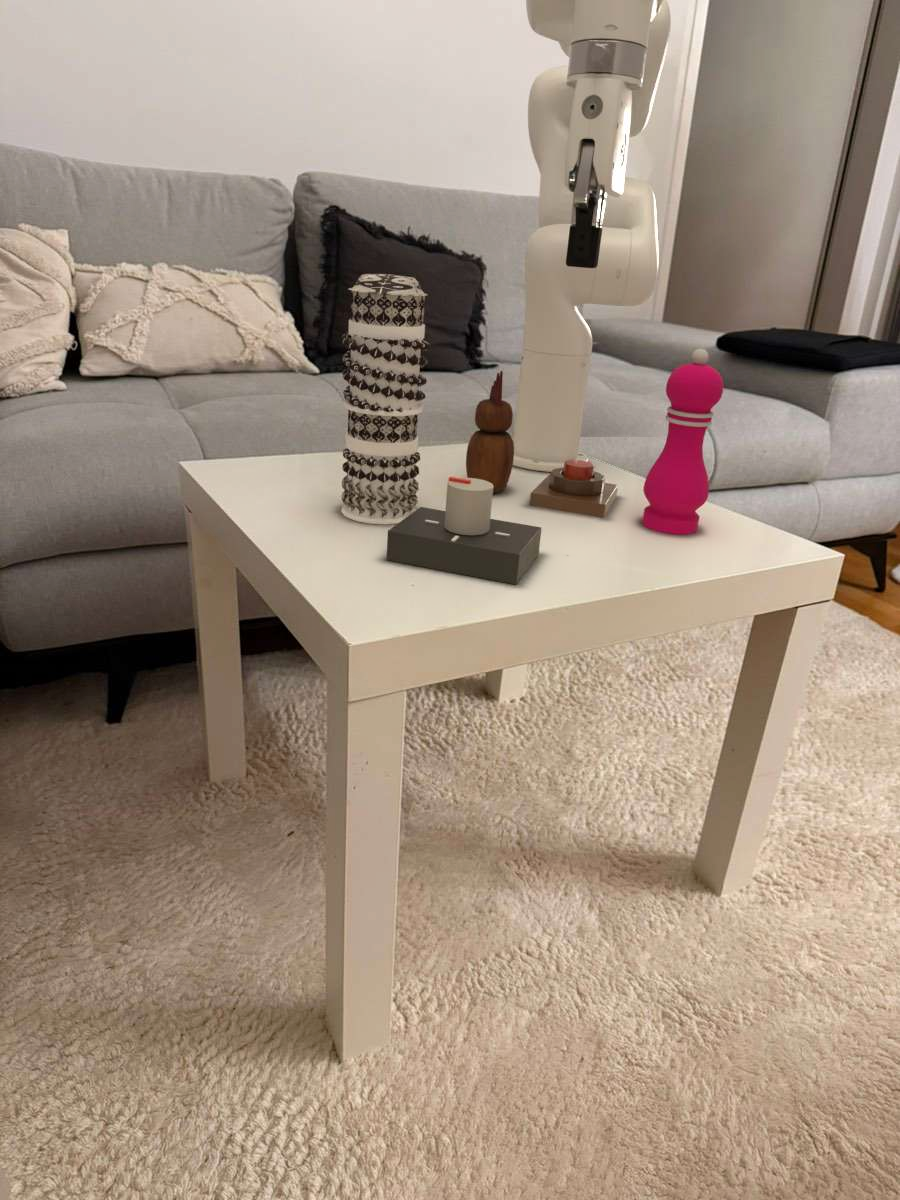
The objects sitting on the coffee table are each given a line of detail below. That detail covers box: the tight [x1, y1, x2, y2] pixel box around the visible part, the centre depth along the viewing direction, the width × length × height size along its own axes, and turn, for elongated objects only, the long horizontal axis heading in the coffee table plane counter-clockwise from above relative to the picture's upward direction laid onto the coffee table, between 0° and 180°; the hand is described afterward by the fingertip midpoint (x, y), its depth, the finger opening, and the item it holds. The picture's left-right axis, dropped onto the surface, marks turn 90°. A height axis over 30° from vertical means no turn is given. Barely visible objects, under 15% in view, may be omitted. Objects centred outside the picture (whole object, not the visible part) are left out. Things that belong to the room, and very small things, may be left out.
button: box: [563, 460, 595, 479], centre depth 104 cm, size 4×4×2 cm
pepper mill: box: [641, 348, 724, 536], centre depth 95 cm, size 7×7×20 cm
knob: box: [444, 476, 494, 536], centre depth 82 cm, size 4×4×5 cm
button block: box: [529, 467, 619, 519], centre depth 105 cm, size 10×9×4 cm
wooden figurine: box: [465, 370, 514, 494], centre depth 105 cm, size 7×6×15 cm
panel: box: [386, 506, 542, 585], centre depth 84 cm, size 9×13×3 cm
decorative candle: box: [340, 273, 431, 525], centre depth 91 cm, size 9×9×25 cm
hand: (581, 266), depth 92 cm, fingers closed
